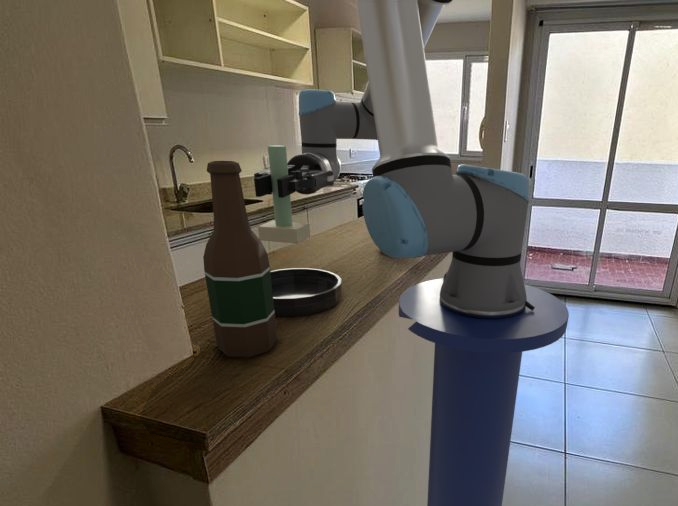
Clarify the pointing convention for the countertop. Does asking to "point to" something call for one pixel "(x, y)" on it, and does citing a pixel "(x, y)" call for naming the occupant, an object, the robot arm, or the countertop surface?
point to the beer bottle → (237, 271)
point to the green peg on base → (281, 205)
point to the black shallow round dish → (304, 291)
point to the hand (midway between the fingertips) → (268, 188)
